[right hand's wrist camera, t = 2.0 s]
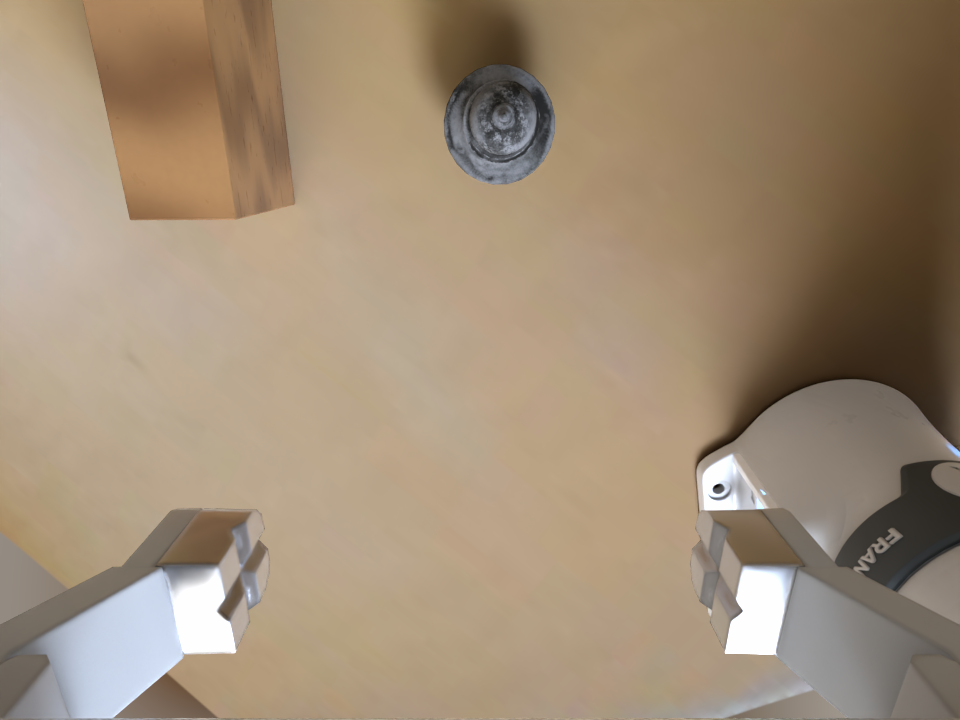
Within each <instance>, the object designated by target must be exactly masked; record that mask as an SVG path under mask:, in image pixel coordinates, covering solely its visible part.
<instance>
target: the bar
mask: <svg viewBox="0 0 960 720" xmlns="http://www.w3.org/2000/svg"><path fill="white" fill-rule="evenodd" d="M83 4H84V9H85V14H86V18H87V23H88V28H89V32H90V37H91V41H92V46H93V51H94V55H95V60H96V64H97V69H98V74H99V78H100V83H101V87H102V92H103V97H104V101H105V106H106V111H107V115H108V120H109V124H110V129H111V134H112V138H113V143H114V147H115V152H116V157H117V161H118V166H119V171H120V175H121V180H122V184H123V189H124V194H125V198H126V203H127V207H128V212H129V217H130V220H236V219H240V218H244V217H248V216H251V215H255V214H259V213H263V212H267V211H271V210H275V209H279V208H283V207H287V206H291V205H294V204H295V202H294V194H293V185H292V177H291V168H290V160H289V151H288V142H287V134H286V125H285V117H284V108H283V99H282V91H281V82H280V74H279V65H278V57H277V48H276V39H275V31H274V22H273V14H272V5H271V0H83Z"/></svg>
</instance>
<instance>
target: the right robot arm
mask: <svg viewBox="0 0 960 720" xmlns="http://www.w3.org/2000/svg"><path fill="white" fill-rule="evenodd" d="M696 475H697V488H698V500H699V515H698V517H697V522H696V528H695V529H696V531H697V533H698V534H699V536H700V538H701V540H700V541H699V542H698V543H697V544H696V545H695V547H694V548H693V549H692V554H691V562H690V567H691V578H692V582H693V586H694V589H695V592H696V594H697V596H698V598H699V601H700V602H701V603H702V604H704V605H705V606H706V607H707V609H708V613H709V615H710V617H711V618H710V623H711V625H712V627H713V629H714V631H715V633H716V635H717V637H718V639H719V641H720V643H721V645H722V647H723V649H724V651H725V653H743V654H774V655H776V657H777V658H778V659H779V660H780V661H781V662H783V663H784V664H785V665H786V666H787V667H788V668H790V669H791V670H792V671H793V672H794V673H795V674H797V675H798V676H799V677H800V678H801V679H802V680H804V681H805V682H806V683H807V684H808V685H809V686H811V687H812V688H813V689H814V690H815V691H817V692H818V693H819V694H820V695H821V696H822V697H824V698H825V699H826V700H827V701H828V702H829V703H831V704H832V705H833V706H834V707H835V708H836V709H838V710H839V711H840V712H841V713H842V714H843V715H845V716H846V717H847V718H113V717H114V716H116V715H117V714H118V713H119V712H120V711H121V710H123V709H124V708H125V707H126V706H127V705H128V704H129V703H131V702H132V701H133V700H134V699H136V698H137V697H138V696H139V695H140V694H141V693H143V692H144V691H145V690H146V689H147V688H148V687H150V686H151V685H152V684H153V683H154V682H155V681H156V680H158V679H159V678H160V677H161V676H162V675H164V674H165V673H166V672H167V671H168V670H169V669H171V668H172V667H173V666H174V665H175V664H176V663H178V662H179V661H180V660H181V659H182V658H184V655H183V654H215V653H235V651H236V649H237V647H238V645H239V643H240V641H241V639H242V637H243V635H244V633H245V631H246V629H247V627H248V625H249V623H250V618H249V612H248V610H249V609H251V608H252V607H254V606H255V605H256V604H258V603H259V602H260V601H261V598H262V596H263V594H264V592H265V590H266V586H267V581H268V577H269V561H270V560H269V553H268V549H267V548H266V547H265V546H264V544H263V543H262V542H261V541H260V540H259V538H260V536H261V534H262V533H263V531H264V529H265V528H264V523H263V518H262V514H261V513H260V512H259V511H258V510H255V509H209V508H205V509H201V508H178V509H175V510H172V511H170V512H169V513H168V514H167V516H166V517H165V518H164V519H163V520H162V521H161V522H160V524H159V525H158V526H157V527H156V528H155V529H154V530H153V532H152V533H151V534H150V535H149V536H148V537H147V538H146V540H145V541H144V542H143V543H142V544H141V545H140V546H139V548H138V549H137V550H136V551H135V552H134V553H133V554H132V556H131V557H130V558H129V559H128V560H127V561H126V562H125V564H124V565H123V566H122V567H112V568H110V569H108V570H106V571H104V572H102V573H100V574H98V575H96V576H94V577H92V578H90V579H88V580H86V581H84V582H82V583H80V584H78V585H77V586H75V587H73V588H71V589H69V590H67V591H65V592H63V593H61V594H59V595H57V596H55V597H53V598H51V599H49V600H47V601H45V602H44V603H42V604H40V605H38V606H36V607H34V608H32V609H30V610H28V611H26V612H24V613H22V614H20V615H18V616H16V617H14V618H12V619H10V620H9V621H7V622H5V623H3V624H1V625H0V720H960V452H959V451H958V450H957V449H956V448H955V447H954V446H953V445H952V444H951V443H949V442H948V441H947V440H946V439H945V438H944V437H943V436H942V435H941V434H940V433H939V432H938V431H937V430H936V429H935V428H934V426H933V425H932V424H931V423H930V422H929V421H928V420H927V418H926V417H925V416H924V415H923V413H922V412H921V411H920V409H919V408H918V407H917V406H916V405H915V403H914V402H913V401H912V400H910V399H909V398H908V397H907V396H905V395H904V394H903V393H901V392H899V391H898V390H896V389H894V388H892V387H889V386H887V385H884V384H881V383H878V382H874V381H868V380H860V379H842V380H833V381H827V382H822V383H818V384H815V385H811V386H809V387H806V388H803V389H801V390H798V391H796V392H794V393H792V394H790V395H788V396H786V397H784V398H783V399H781V400H779V401H778V402H776V403H775V404H773V405H772V406H771V407H769V408H768V409H767V410H765V411H764V412H763V413H762V414H761V415H760V416H759V417H758V418H757V419H756V420H755V421H754V422H753V423H752V424H751V425H750V426H749V427H748V428H747V429H746V430H745V431H744V432H743V434H741V435H740V436H739V437H738V438H737V439H736V440H735V441H733V442H732V443H730V444H728V445H726V446H724V447H722V448H720V449H718V450H716V451H715V452H713V453H711V454H709V455H708V456H707V457H705V458H704V459H703V460H702V461H701V462H700V463H699V465H698V467H697V471H696ZM716 484H720V486H719V487H717V488H713V487H714V486H715V485H716Z"/></svg>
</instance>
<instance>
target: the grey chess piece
mask: <svg viewBox="0 0 960 720" xmlns="http://www.w3.org/2000/svg"><path fill="white" fill-rule="evenodd" d="M444 132H445V139H446V142H447V145H448V149H449V151H450V153H451V155H452V156H453V158H454V160H455V162H456V163H457V164H458V165H459V166H460V167H461V168H462V169H463V170H464V171H465V172H466V173H467V174H468V175H470V176H472V177H473V178H475V179H477V180H479V181H482V182H486V183H490V184H509V183H512V182H515V181H519V180H521V179H523V178H525V177H526V176H528V175H529V174H531V173H532V172H534V171H535V169H536V168H537V167H538V166H539V165H540V164H541V163H542V162H543V161H544V159H545V157H546V155H547V153H548V152H549V150H550V148H551V144H552V141H553V137H554V133H555V115H554V111H553V107H552V102H551V100H550V98H549V96H548V94H547V92H546V90H545V88H544V87H543V86H542V85H541V84H540V83H539V81H538V80H537V79H536V78H535V77H534V76H533V75H531V74H529V73H528V72H526V71H524V70H523V69H521V68H518V67H514V66H510V65H507V64H501V65H489V66H486V67H483V68H480V69H477V70H475V71H474V72H472V73H471V74H470V75H468V76H467V77H465V78H464V79H463V80H462V81H461V82H460V84H459V85H458V86H457V87H456V88H455V90H454V91H453V93H452V95H451V97H450V100H449V102H448V104H447V108H446V113H445V118H444Z"/></svg>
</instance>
